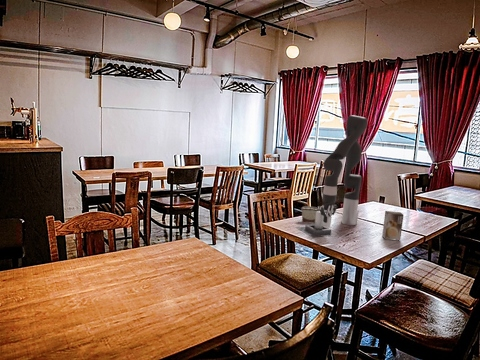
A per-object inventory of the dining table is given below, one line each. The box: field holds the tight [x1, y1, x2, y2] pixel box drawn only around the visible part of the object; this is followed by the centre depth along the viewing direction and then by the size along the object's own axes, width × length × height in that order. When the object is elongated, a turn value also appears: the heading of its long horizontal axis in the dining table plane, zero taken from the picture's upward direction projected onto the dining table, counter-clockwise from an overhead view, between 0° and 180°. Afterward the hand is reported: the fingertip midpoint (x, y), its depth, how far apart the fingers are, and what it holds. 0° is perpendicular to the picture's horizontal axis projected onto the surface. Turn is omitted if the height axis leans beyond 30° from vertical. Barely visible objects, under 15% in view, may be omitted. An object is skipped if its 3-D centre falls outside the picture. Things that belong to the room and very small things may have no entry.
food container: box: [300, 205, 320, 223], centre depth 245 cm, size 12×6×10 cm, turn 84°
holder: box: [295, 224, 342, 239], centre depth 223 cm, size 20×20×4 cm
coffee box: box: [382, 210, 404, 241], centre depth 221 cm, size 9×6×16 cm
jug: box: [314, 211, 332, 230], centre depth 219 cm, size 11×5×10 cm, turn 32°
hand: (326, 222), depth 216 cm, fingers closed on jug
